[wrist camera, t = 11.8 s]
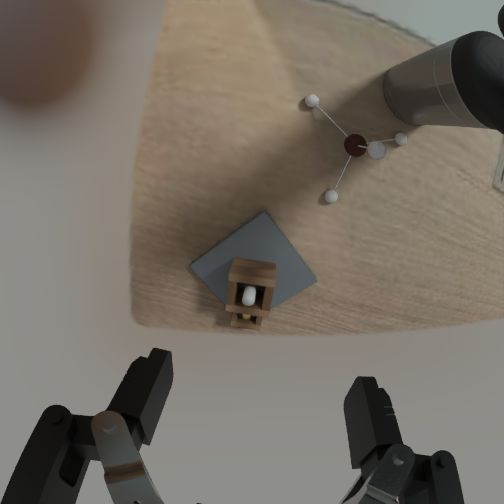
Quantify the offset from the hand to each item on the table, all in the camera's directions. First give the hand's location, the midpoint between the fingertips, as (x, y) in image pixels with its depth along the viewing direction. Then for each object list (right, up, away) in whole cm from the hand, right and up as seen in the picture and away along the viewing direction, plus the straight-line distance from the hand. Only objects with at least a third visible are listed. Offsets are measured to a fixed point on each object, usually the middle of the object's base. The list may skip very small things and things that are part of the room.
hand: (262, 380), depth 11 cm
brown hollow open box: (-1, -1, +32) cm, 32 cm away
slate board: (0, +3, +32) cm, 32 cm away
